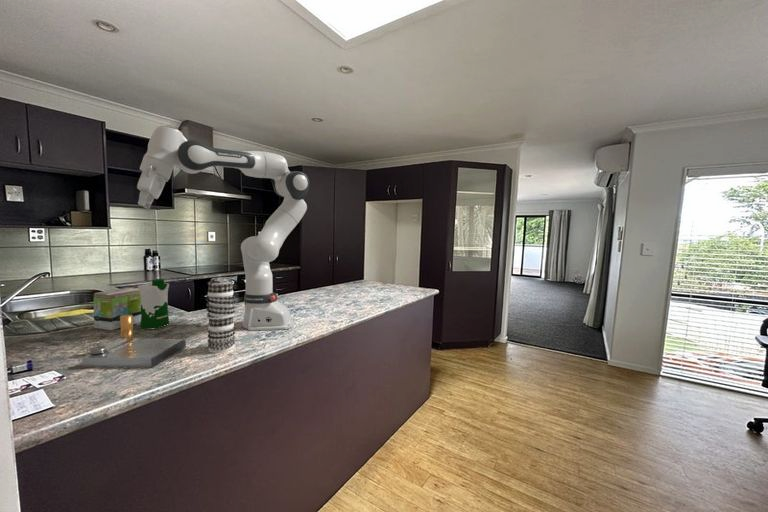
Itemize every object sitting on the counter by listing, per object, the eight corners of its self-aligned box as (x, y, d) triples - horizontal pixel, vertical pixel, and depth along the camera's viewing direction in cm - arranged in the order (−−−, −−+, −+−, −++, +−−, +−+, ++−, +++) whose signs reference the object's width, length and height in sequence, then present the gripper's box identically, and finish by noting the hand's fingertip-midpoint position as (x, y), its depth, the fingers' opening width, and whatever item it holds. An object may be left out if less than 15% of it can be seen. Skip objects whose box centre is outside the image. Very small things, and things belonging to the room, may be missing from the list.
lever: (99, 355, 92) (97, 327, 91) (86, 355, 91) (85, 327, 91) (136, 338, 106) (135, 314, 105) (125, 338, 106) (124, 314, 105)
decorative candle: (202, 353, 103) (200, 280, 101) (212, 343, 112) (211, 276, 110) (231, 352, 105) (230, 280, 103) (239, 342, 114) (238, 276, 112)
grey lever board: (185, 347, 108) (185, 338, 108) (152, 368, 92) (152, 357, 92) (125, 346, 107) (125, 337, 107) (82, 367, 91) (81, 356, 91)
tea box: (113, 330, 123) (111, 294, 122) (93, 328, 125) (91, 293, 124) (148, 320, 138) (147, 288, 137) (130, 318, 140) (129, 286, 139)
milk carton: (155, 330, 125) (153, 281, 124) (136, 328, 126) (134, 280, 125) (173, 323, 134) (171, 278, 132) (154, 322, 135) (153, 277, 133)
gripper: (163, 167, 101) (149, 206, 100) (169, 178, 119) (158, 212, 118) (139, 159, 98) (125, 199, 97) (150, 172, 116) (138, 206, 115)
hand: (143, 206), depth 107 cm, fingers open, 8 cm apart
